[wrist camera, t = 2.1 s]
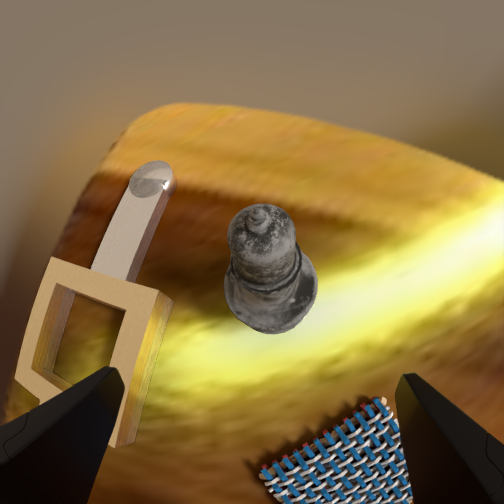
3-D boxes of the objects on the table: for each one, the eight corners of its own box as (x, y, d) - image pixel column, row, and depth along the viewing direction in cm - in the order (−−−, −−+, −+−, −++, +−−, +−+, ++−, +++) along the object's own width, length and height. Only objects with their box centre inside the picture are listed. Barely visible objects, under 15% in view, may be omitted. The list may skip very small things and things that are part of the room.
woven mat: (324, 551, 13) (327, 563, 11) (254, 466, 17) (250, 474, 15) (436, 479, 14) (447, 485, 12) (376, 389, 18) (385, 390, 16)
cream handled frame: (134, 442, 18) (125, 445, 16) (36, 381, 20) (25, 380, 19) (219, 175, 27) (216, 164, 25) (119, 167, 29) (113, 158, 28)
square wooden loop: (115, 541, 13) (98, 552, 10) (24, 476, 16) (5, 479, 13) (174, 301, 22) (158, 290, 19) (70, 268, 25) (51, 256, 22)
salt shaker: (224, 275, 23) (168, 178, 12) (296, 251, 23) (300, 136, 12) (246, 349, 20) (197, 313, 9) (325, 321, 20) (366, 254, 9)
